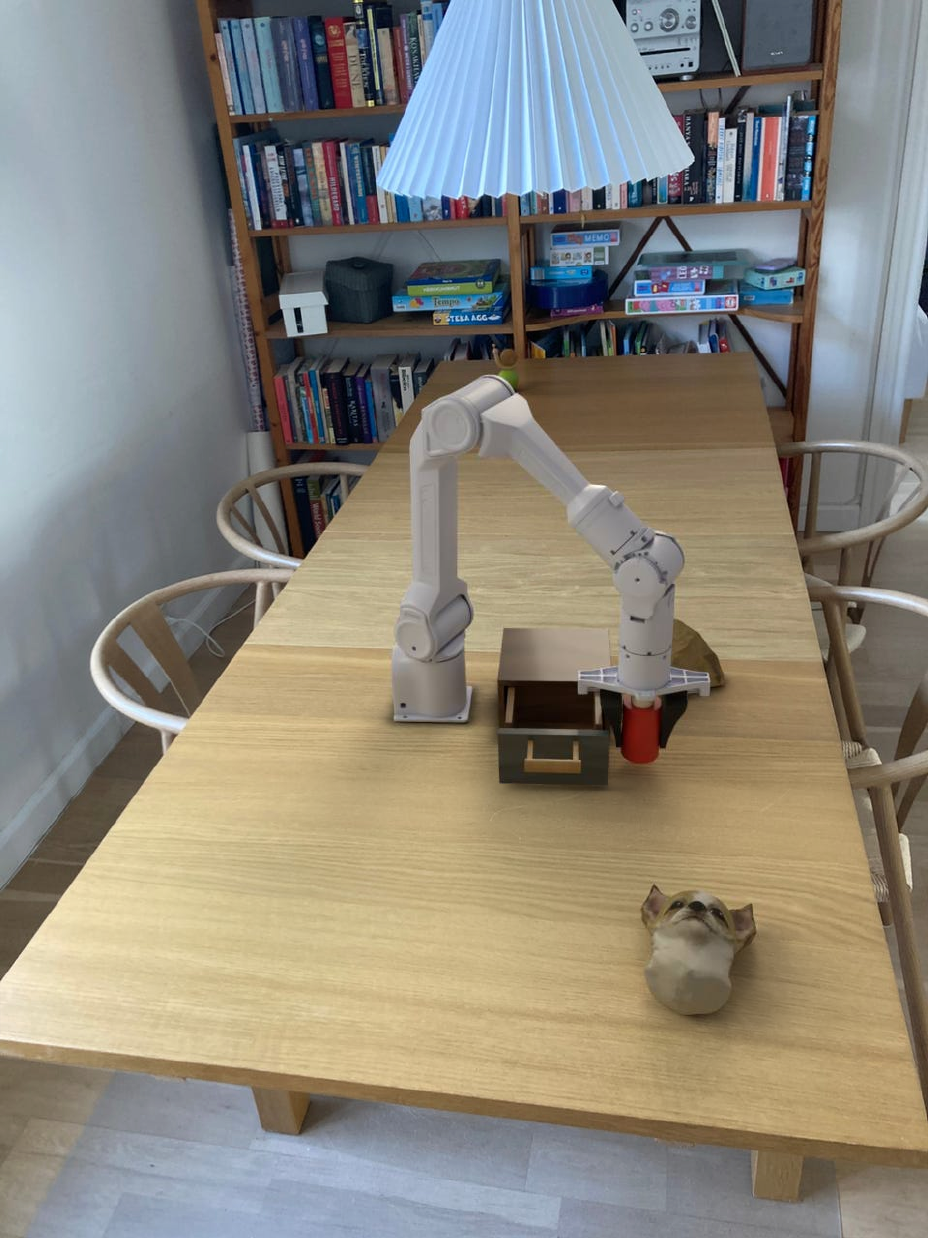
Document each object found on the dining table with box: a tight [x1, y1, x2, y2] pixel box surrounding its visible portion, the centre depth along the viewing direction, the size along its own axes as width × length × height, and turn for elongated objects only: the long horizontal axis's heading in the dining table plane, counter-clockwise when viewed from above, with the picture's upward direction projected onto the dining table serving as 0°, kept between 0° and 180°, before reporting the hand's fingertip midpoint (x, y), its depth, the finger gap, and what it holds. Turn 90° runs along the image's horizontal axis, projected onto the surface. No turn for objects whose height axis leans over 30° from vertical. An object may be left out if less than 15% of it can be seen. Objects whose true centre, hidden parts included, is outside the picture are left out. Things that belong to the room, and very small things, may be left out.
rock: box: [658, 617, 726, 700], centre depth 132 cm, size 11×9×10 cm
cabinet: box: [496, 627, 612, 743], centre depth 128 cm, size 13×14×9 cm
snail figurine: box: [491, 343, 520, 390], centre depth 251 cm, size 5×6×12 cm
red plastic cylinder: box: [620, 694, 662, 765], centre depth 116 cm, size 4×4×8 cm
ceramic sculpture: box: [640, 883, 757, 1016], centre depth 91 cm, size 11×9×15 cm
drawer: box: [497, 686, 611, 787], centre depth 117 cm, size 16×12×7 cm
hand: (639, 743), depth 118 cm, fingers closed on red plastic cylinder, 4 cm apart
